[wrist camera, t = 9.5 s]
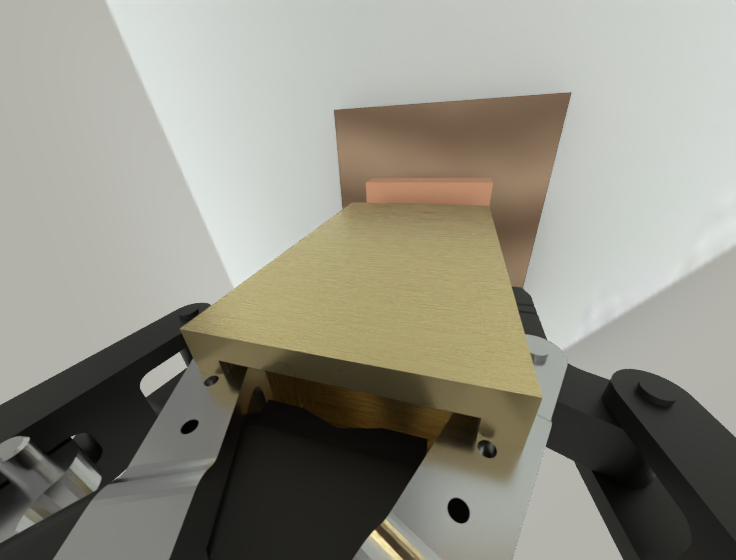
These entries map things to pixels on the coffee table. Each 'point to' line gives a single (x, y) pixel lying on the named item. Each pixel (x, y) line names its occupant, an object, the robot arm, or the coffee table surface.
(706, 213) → the coffee table surface
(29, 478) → the robot arm
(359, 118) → the post stand
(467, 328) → the sleeve
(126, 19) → the coffee table surface
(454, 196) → the orange square ring
